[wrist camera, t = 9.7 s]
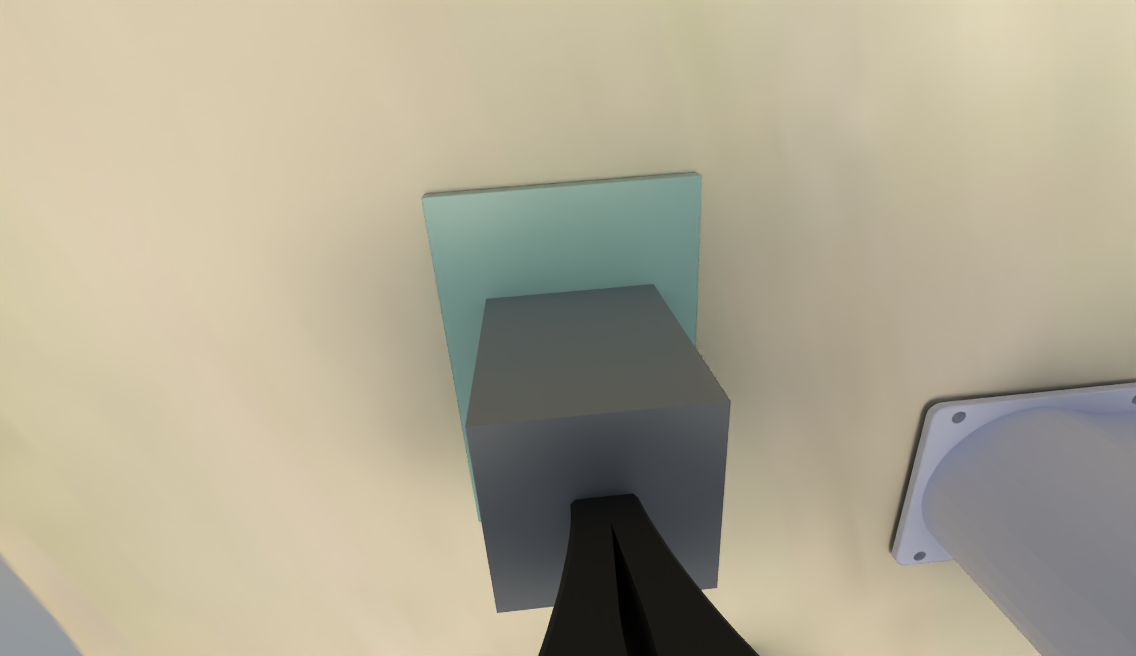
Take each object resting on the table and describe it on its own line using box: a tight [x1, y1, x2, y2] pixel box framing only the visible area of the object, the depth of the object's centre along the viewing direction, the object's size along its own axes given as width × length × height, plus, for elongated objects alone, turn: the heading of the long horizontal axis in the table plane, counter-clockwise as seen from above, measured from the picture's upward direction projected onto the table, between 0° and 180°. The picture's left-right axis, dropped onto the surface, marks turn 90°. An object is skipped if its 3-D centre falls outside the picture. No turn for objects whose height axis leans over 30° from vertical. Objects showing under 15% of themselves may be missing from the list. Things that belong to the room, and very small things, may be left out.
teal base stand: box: [422, 172, 702, 522], centre depth 16 cm, size 8×12×6 cm, turn 4°
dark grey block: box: [465, 284, 730, 613], centre depth 15 cm, size 5×5×7 cm
